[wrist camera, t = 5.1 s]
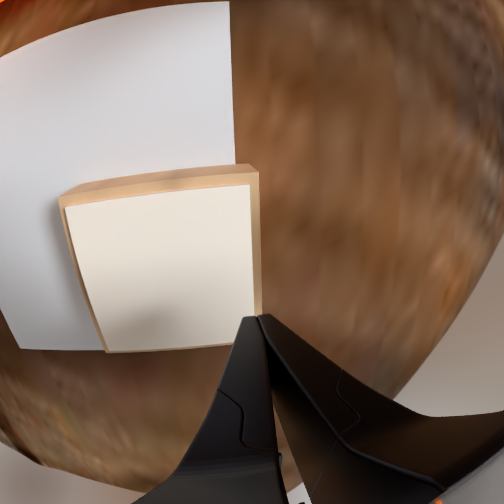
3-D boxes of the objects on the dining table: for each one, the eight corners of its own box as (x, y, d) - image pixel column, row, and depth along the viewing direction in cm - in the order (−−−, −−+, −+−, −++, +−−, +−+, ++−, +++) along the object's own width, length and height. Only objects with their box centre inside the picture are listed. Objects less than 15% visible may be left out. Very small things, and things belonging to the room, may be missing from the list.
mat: (244, 336, 17) (245, 339, 17) (21, 345, 15) (20, 348, 15) (228, 3, 10) (229, 1, 10) (-41, 83, 8) (-44, 83, 7)
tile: (263, 344, 14) (104, 356, 13) (253, 311, 16) (115, 323, 15) (260, 173, 10) (54, 199, 9) (248, 163, 13) (79, 183, 12)
